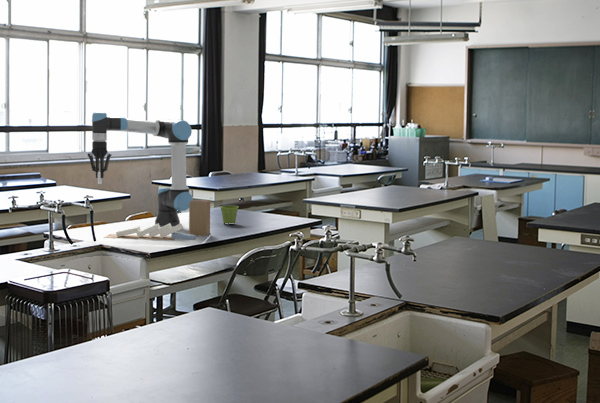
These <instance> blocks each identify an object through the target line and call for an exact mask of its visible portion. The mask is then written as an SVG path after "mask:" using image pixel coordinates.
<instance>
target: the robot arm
mask: <svg viewBox="0 0 600 403" xmlns="http://www.w3.org/2000/svg"><path fill="white" fill-rule="evenodd" d="M91 117H92V118H91V123H92V124H91V125H92V129H91V130H92V134H91V135H92V138H91V139H92V142H91V143H92V145H91V146H92V150H91V152H89V153H87V156H88V158H89V162H90V165H91V166H90V167H91V170H92V172H95V178H96V179H97V185H102V184H103V178H104V177H105V176H104V174H105V173H104V172H107V171H108V168H109V164H110V159H111V158H112V155H113V154H112V153H110V152H108V145H107V142H108V141H107V140H108V139H107V135H108V134H107V131H113V132H114V131H117V132H124V133H125V132H127V133H136V134H148V135H153V137H160V138H165V139H167V142H168V144H169V145H170V151H171V152H170V153H171V154H170V155H171V157H170V158H171V160H170V162H171V186H170V187H162V188H159V189H158V190H157V213H156V214H157V215H156V217H155V219H154V225H156V224H158V223H159V225H160V227H163V226H165V225H167V224H169V223H170V224H171V226H172V227H174V226H176V225H178V224H181V221H180V217H179V213H178V212H185V211H189V202H190V201H192V200H194V199H193V196H192V194H191V193H190V187H188V185H187V151H186V150H187V148H186V147H187V145H188V144H189V139H190V137H191V136H192V134H193V133H192V132H193V130H192V127H191V125H190V123H189V122H188V121H186V120H182V119H163V120H162V119H154V120H143V119H135V118H134V119H133V118H132V119H131V118H127V117H125V116H108V114H107V113H106V112H93V113H92V115H91Z"/></svg>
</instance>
